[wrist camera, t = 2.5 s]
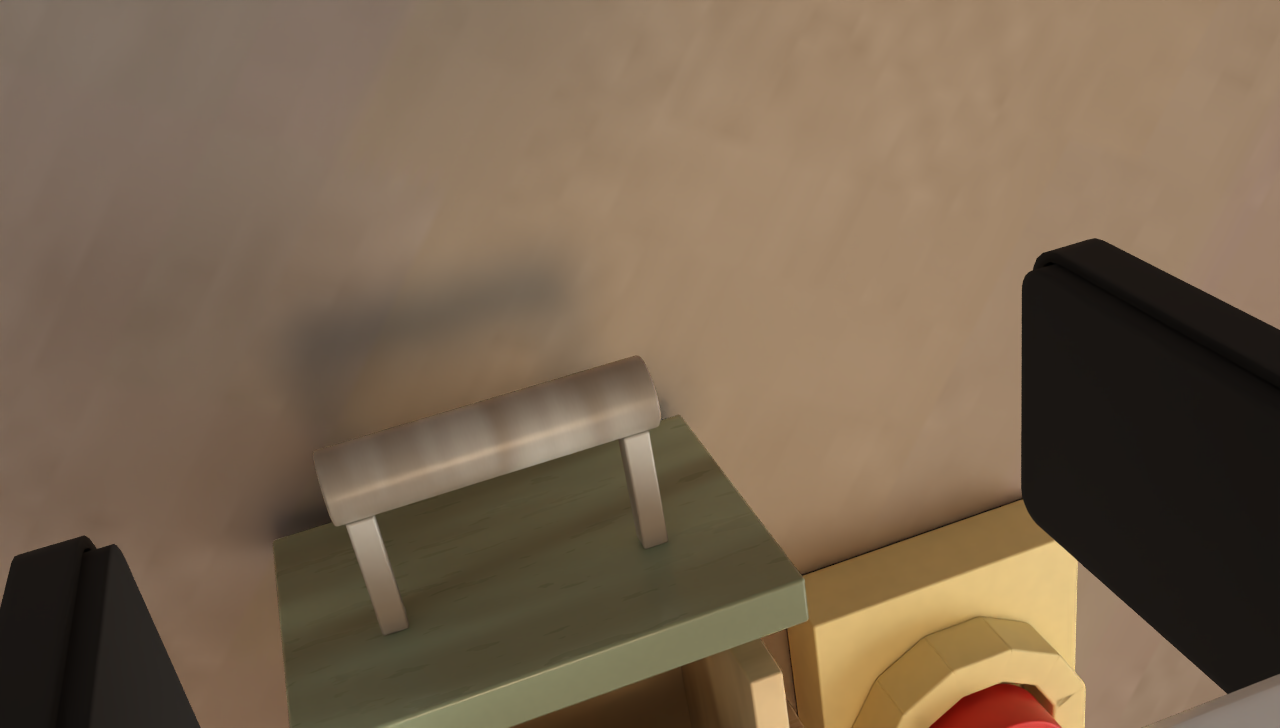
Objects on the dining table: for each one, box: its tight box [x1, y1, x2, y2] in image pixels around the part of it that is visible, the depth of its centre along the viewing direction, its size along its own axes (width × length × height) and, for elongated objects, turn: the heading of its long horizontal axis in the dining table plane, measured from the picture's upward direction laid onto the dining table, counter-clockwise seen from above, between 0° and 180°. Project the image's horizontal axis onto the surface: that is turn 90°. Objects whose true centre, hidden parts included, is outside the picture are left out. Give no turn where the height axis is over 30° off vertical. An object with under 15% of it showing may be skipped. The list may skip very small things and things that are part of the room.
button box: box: [787, 499, 1086, 728], centre depth 39 cm, size 11×9×4 cm
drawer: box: [273, 356, 809, 728], centre depth 29 cm, size 17×11×8 cm, turn 10°
